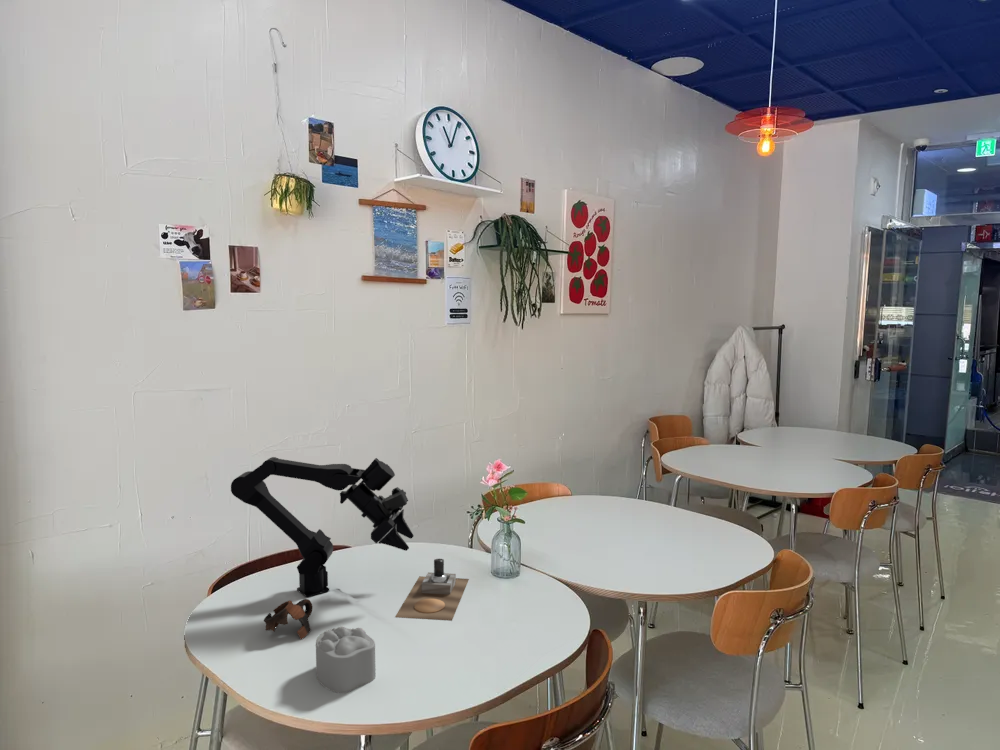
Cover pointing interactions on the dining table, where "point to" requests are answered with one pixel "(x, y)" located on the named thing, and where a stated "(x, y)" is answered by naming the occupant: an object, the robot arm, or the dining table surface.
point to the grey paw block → (345, 659)
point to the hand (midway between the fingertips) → (410, 543)
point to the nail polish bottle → (438, 572)
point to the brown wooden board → (433, 598)
